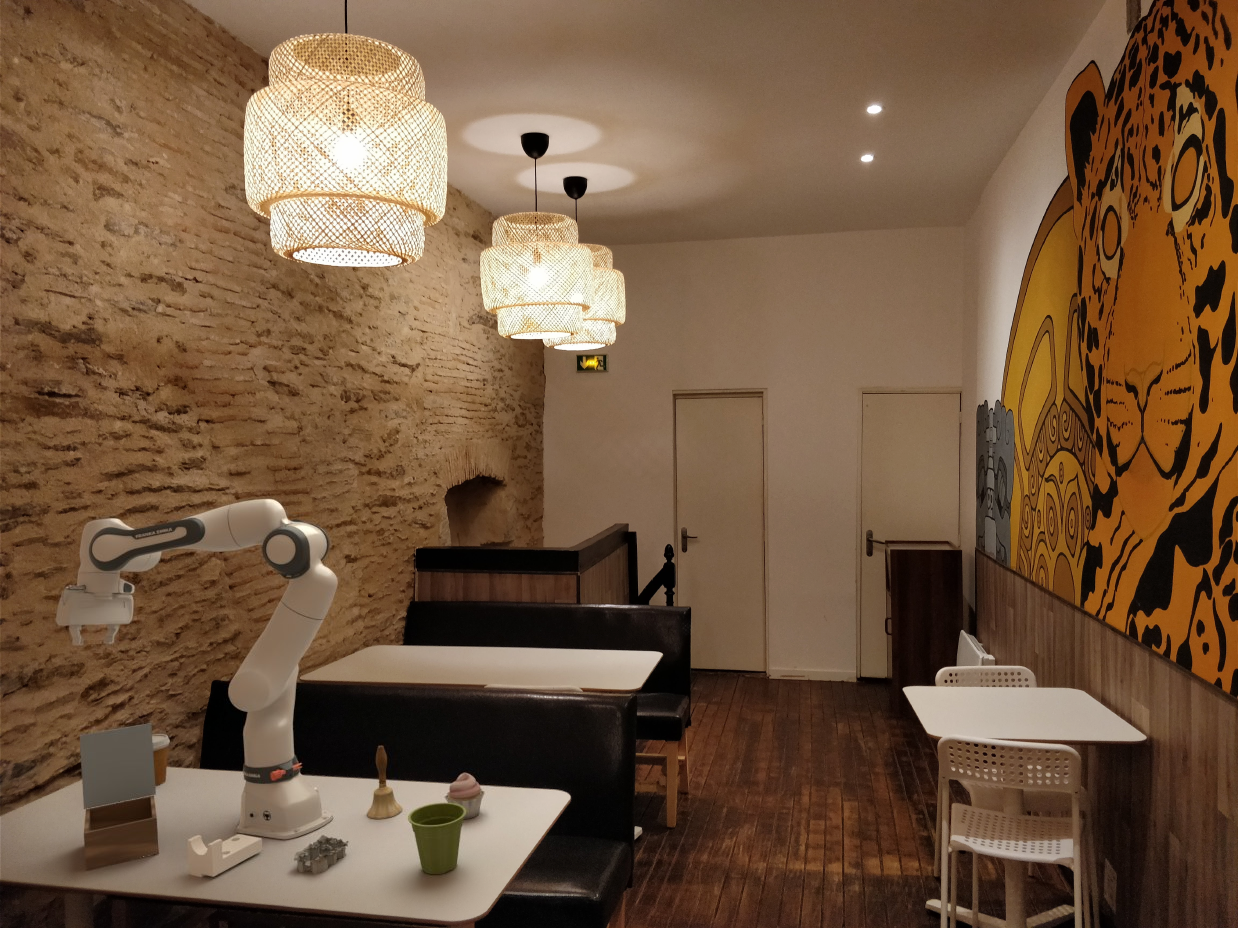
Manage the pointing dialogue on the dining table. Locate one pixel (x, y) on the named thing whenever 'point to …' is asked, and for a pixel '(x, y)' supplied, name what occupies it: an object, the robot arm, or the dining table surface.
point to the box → (120, 832)
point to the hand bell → (383, 792)
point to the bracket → (220, 854)
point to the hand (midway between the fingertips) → (93, 644)
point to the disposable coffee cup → (160, 757)
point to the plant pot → (437, 835)
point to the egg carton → (329, 854)
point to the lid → (117, 765)
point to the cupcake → (466, 794)
